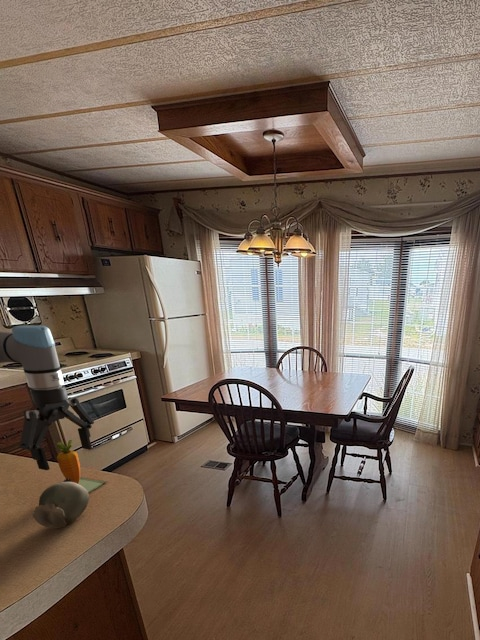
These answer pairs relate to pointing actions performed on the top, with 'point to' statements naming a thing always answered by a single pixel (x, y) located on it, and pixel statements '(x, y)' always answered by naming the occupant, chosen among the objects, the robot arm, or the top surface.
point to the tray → (90, 484)
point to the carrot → (69, 462)
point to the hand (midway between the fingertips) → (67, 458)
